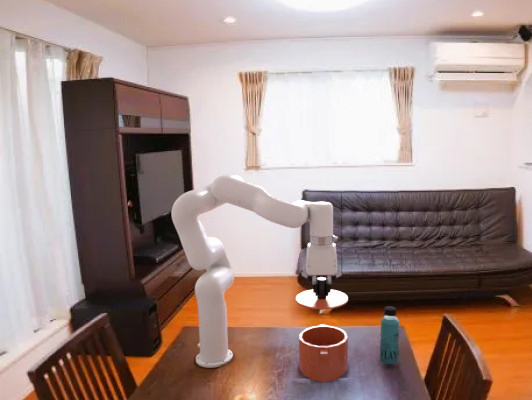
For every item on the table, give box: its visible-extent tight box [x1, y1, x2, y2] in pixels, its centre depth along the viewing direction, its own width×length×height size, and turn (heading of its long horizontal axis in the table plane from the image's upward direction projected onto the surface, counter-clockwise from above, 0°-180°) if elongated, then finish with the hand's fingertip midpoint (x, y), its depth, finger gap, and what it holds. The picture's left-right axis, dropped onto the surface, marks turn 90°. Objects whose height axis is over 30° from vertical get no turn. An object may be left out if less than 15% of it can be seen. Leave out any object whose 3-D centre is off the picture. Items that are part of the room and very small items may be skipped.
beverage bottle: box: [379, 305, 400, 365], centre depth 145 cm, size 6×7×20 cm
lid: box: [295, 276, 349, 310], centre depth 141 cm, size 17×17×8 cm
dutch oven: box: [298, 323, 349, 383], centre depth 143 cm, size 16×21×12 cm
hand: (321, 294), depth 141 cm, fingers closed on lid, 3 cm apart
